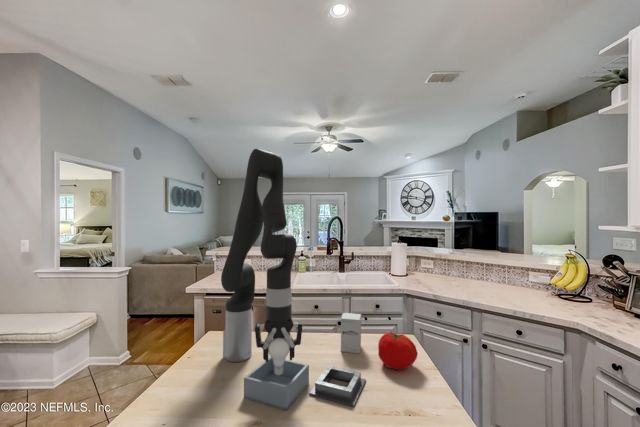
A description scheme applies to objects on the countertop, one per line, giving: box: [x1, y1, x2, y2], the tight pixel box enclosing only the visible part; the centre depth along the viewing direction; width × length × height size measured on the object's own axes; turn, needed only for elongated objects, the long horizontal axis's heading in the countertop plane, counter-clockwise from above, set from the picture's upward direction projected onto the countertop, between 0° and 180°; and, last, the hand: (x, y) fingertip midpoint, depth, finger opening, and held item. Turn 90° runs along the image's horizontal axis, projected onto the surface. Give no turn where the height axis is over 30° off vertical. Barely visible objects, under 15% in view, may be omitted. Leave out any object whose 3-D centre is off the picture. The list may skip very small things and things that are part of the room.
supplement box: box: [340, 312, 362, 354], centre depth 108 cm, size 7×7×13 cm
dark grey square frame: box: [308, 365, 367, 408], centre depth 83 cm, size 13×13×3 cm
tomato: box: [377, 331, 418, 371], centre depth 96 cm, size 13×12×11 cm
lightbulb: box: [268, 337, 290, 375], centre depth 82 cm, size 6×6×11 cm
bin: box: [243, 355, 310, 411], centre depth 82 cm, size 14×14×6 cm
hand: (278, 359), depth 82 cm, fingers closed on lightbulb, 6 cm apart
